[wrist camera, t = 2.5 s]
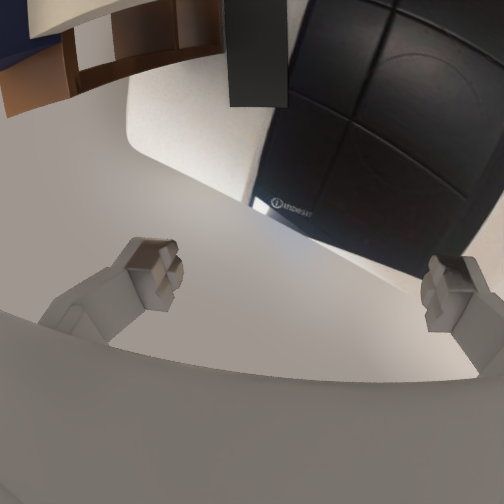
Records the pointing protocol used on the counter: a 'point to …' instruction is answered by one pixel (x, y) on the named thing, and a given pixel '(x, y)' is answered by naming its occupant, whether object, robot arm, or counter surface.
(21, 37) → the navy beige block
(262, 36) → the shoe mat
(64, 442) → the robot arm
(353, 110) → the counter surface
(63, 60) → the wooden shelf
